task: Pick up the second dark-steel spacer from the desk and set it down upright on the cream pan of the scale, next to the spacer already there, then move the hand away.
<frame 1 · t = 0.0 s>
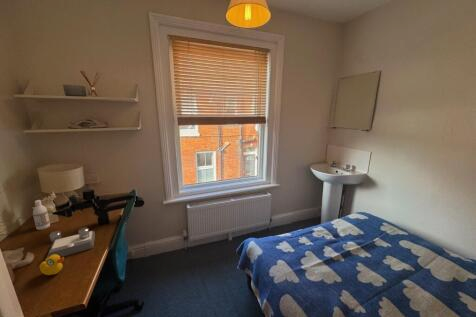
hand: (54, 210, 127), 17 cm above the table, tool horizontal, fingers open, 9 cm apart
bath foam: (43, 227, 138), on the table
spacer a: (84, 237, 122), point 3 cm above the table, touching scale
scale: (73, 246, 118), on the table
spacer b: (56, 240, 124), on the table
duckling: (54, 273, 98), on the table
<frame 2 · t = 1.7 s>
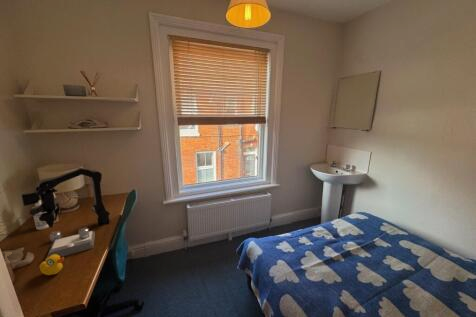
hand: (53, 223, 121), 11 cm above the table, tool pointing down, fingers open, 9 cm apart
nothing on the table moved.
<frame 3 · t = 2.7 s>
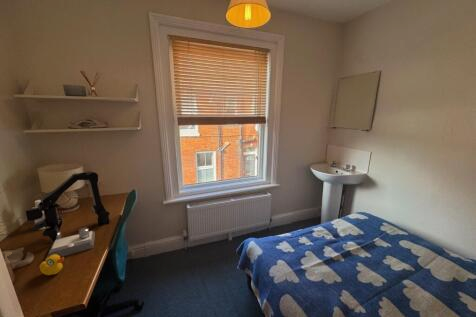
hand: (56, 237, 123), 2 cm above the table, tool pointing down, fingers open, 9 cm apart
nothing on the table moved.
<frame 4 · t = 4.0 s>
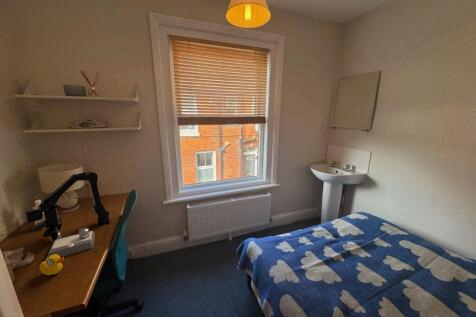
hand: (56, 238, 123), 1 cm above the table, tool pointing down, fingers closed on spacer b, 5 cm apart
spacer b: (56, 240, 124), on the table, touching gripper
everything else where it was.
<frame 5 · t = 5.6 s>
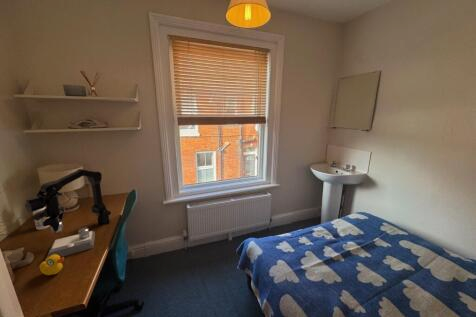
hand: (57, 228, 117), 11 cm above the table, tool pointing down, fingers closed on spacer b, 5 cm apart
spacer b: (57, 230, 117), point 10 cm above the table, touching gripper
everything else where it was.
when the fingers open (6 cm above the table, at t = 7.6 s): spacer b drops 1 cm, resting on scale.
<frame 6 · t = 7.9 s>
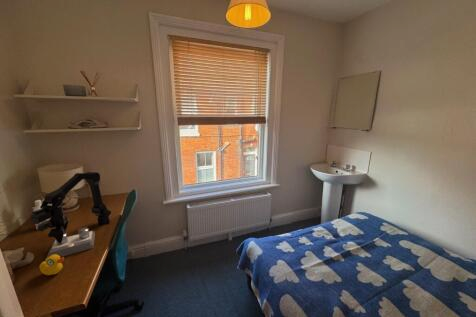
hand: (61, 238, 116), 6 cm above the table, tool pointing down, fingers open, 8 cm apart
spacer b: (62, 242, 117), point 3 cm above the table, touching scale
everything else where it was.
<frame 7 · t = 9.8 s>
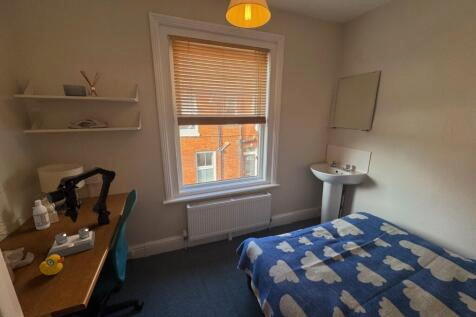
hand: (75, 219, 127), 11 cm above the table, tool pointing down, fingers open, 9 cm apart
nothing on the table moved.
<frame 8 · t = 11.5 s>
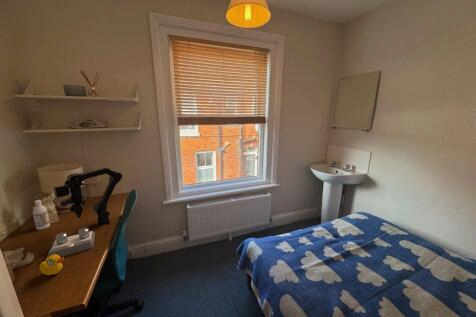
hand: (80, 214, 131), 12 cm above the table, tool pointing down, fingers open, 9 cm apart
nothing on the table moved.
at the end: spacer b inside the target area on the scale (5.0 cm from its centre), point 3.3 cm above the scale's base; spacer b tilted 3°; the gripper is holding nothing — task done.
